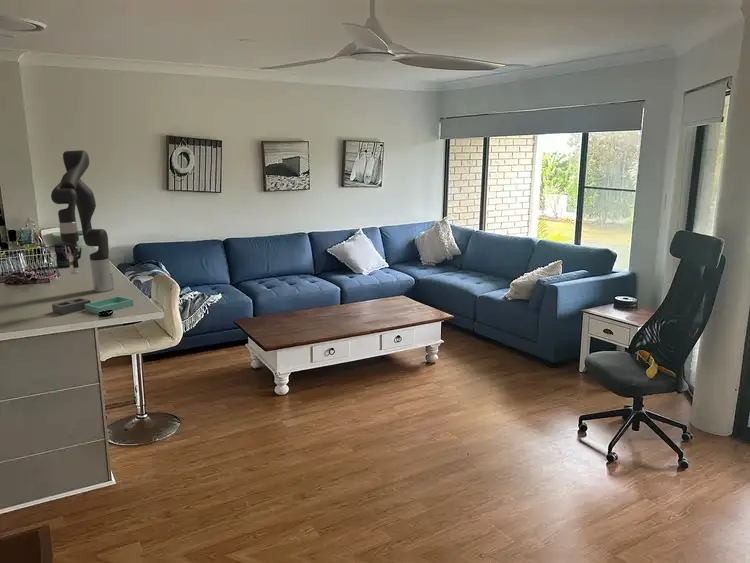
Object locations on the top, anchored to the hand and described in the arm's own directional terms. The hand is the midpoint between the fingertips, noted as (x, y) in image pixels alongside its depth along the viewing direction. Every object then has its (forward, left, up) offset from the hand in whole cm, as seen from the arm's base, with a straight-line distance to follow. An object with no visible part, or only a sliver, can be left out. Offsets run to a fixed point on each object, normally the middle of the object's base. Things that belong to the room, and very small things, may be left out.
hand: (73, 267), depth 286 cm
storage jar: (-50, -103, -21) cm, 117 cm away
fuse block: (+4, 0, -20) cm, 21 cm away
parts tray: (-8, +12, -20) cm, 25 cm away
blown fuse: (0, 0, -3) cm, 3 cm away
